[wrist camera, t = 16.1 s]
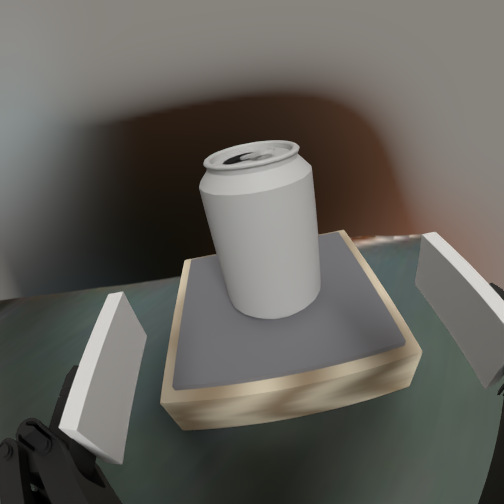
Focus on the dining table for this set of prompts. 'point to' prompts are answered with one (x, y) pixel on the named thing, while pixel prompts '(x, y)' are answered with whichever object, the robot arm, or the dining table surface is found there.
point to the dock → (284, 347)
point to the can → (264, 226)
